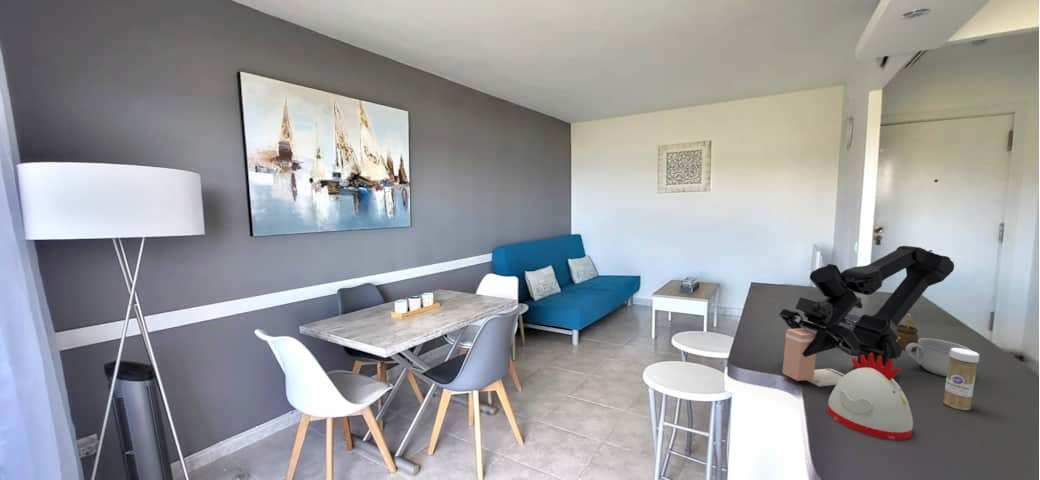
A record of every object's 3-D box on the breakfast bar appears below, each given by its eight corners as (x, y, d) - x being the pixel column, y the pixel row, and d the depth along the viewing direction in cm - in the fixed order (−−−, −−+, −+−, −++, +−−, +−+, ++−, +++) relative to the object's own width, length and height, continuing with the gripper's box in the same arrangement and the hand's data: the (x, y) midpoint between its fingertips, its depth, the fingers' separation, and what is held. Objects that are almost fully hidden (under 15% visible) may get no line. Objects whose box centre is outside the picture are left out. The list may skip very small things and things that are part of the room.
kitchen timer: (888, 446, 78) (898, 372, 77) (813, 411, 91) (820, 347, 89) (925, 431, 84) (935, 361, 82) (850, 400, 96) (857, 339, 95)
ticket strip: (830, 371, 112) (831, 368, 112) (856, 382, 105) (856, 379, 105) (794, 374, 110) (795, 371, 110) (818, 386, 103) (819, 383, 103)
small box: (874, 357, 123) (878, 323, 122) (849, 355, 124) (853, 322, 123) (853, 344, 133) (856, 314, 132) (830, 343, 135) (834, 312, 134)
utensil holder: (913, 347, 132) (918, 311, 131) (919, 353, 127) (924, 316, 126) (889, 343, 136) (894, 308, 134) (894, 348, 130) (898, 312, 129)
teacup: (956, 368, 116) (960, 341, 115) (979, 384, 106) (983, 355, 105) (893, 359, 122) (896, 333, 121) (909, 373, 112) (913, 345, 111)
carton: (798, 371, 108) (802, 328, 107) (813, 379, 104) (818, 334, 102) (782, 373, 107) (786, 329, 106) (797, 380, 103) (801, 335, 101)
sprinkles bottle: (942, 405, 94) (950, 350, 93) (942, 399, 97) (950, 345, 96) (971, 413, 91) (980, 356, 90) (971, 406, 94) (979, 351, 93)
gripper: (787, 280, 113) (750, 320, 112) (855, 296, 95) (812, 345, 94) (808, 306, 115) (772, 346, 114) (878, 327, 97) (836, 375, 96)
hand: (795, 351), depth 104 cm, fingers closed on carton, 4 cm apart
